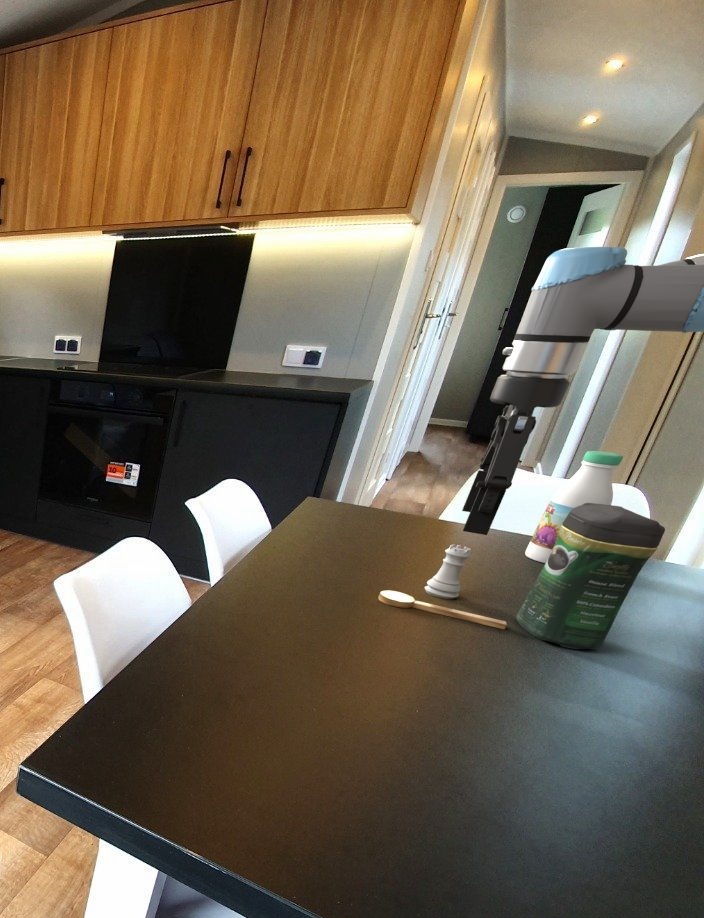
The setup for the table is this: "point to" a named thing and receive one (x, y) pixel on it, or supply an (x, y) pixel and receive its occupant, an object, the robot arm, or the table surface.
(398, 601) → the wooden spoon
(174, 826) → the table surface
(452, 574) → the rook chess piece
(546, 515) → the milk bottle
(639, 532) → the coffee jar
